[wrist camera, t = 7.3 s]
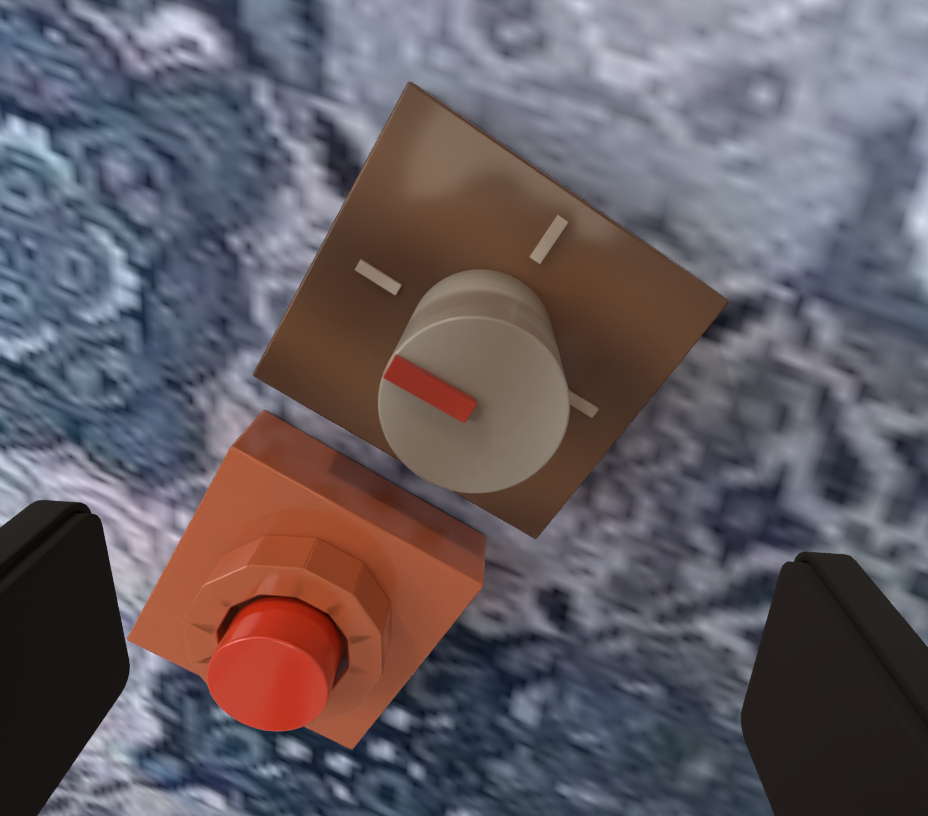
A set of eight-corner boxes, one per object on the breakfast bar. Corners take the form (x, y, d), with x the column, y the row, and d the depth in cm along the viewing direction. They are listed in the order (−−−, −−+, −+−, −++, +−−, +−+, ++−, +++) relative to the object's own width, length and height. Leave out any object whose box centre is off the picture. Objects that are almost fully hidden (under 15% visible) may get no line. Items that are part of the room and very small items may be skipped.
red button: (311, 701, 24) (294, 749, 22) (211, 652, 23) (186, 697, 21) (363, 630, 23) (350, 675, 21) (259, 576, 22) (236, 617, 20)
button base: (367, 690, 30) (342, 791, 25) (165, 587, 28) (98, 676, 23) (486, 535, 26) (483, 620, 22) (263, 408, 25) (208, 471, 20)
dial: (581, 317, 20) (611, 385, 14) (504, 431, 21) (504, 531, 16) (454, 239, 19) (435, 280, 14) (383, 363, 20) (341, 444, 15)
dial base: (532, 496, 25) (536, 543, 22) (280, 348, 24) (249, 378, 21) (702, 280, 22) (732, 302, 19) (421, 87, 20) (407, 79, 17)
